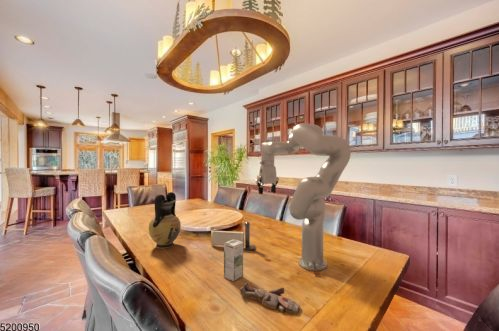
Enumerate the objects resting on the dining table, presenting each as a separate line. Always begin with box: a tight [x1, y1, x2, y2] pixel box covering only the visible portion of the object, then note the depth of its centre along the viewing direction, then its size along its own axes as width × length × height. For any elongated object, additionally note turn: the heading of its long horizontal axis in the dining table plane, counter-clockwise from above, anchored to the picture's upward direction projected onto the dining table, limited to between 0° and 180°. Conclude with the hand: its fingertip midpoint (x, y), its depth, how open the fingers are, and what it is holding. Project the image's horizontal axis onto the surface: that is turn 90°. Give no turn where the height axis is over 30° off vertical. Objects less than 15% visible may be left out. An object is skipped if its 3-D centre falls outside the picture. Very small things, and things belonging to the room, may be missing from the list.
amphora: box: [148, 191, 182, 250], centre depth 128 cm, size 18×17×30 cm
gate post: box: [244, 221, 256, 251], centre depth 123 cm, size 5×5×15 cm
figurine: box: [239, 281, 301, 316], centre depth 76 cm, size 7×5×20 cm
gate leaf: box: [210, 230, 245, 249], centre depth 126 cm, size 2×19×8 cm, turn 80°
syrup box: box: [223, 239, 244, 282], centre depth 93 cm, size 6×6×14 cm
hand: (267, 193), depth 131 cm, fingers open, 9 cm apart
